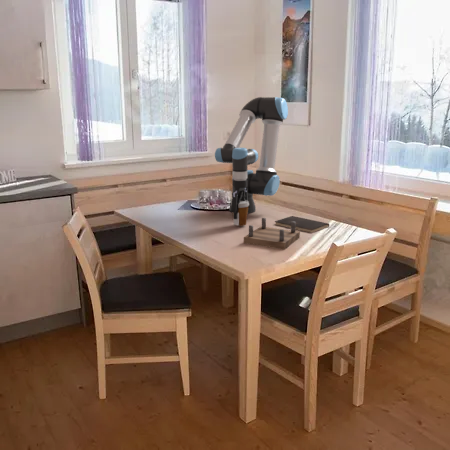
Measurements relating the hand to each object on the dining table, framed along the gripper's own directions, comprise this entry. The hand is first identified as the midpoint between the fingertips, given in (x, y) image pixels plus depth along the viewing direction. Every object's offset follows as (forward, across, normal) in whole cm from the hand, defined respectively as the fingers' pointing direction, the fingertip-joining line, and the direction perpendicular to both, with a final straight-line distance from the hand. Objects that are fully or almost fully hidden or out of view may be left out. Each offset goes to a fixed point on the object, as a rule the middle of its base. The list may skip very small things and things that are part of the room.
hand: (239, 222), depth 255 cm
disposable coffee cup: (+1, 0, 0) cm, 1 cm away
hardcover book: (+3, -16, +28) cm, 32 cm away
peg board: (+2, +15, +24) cm, 29 cm away
